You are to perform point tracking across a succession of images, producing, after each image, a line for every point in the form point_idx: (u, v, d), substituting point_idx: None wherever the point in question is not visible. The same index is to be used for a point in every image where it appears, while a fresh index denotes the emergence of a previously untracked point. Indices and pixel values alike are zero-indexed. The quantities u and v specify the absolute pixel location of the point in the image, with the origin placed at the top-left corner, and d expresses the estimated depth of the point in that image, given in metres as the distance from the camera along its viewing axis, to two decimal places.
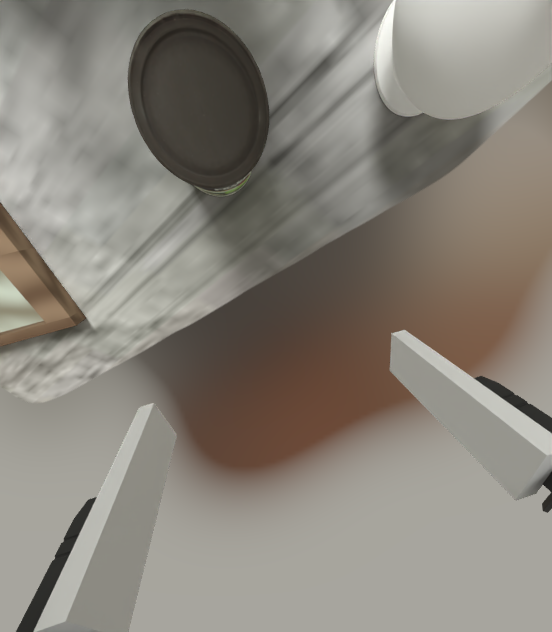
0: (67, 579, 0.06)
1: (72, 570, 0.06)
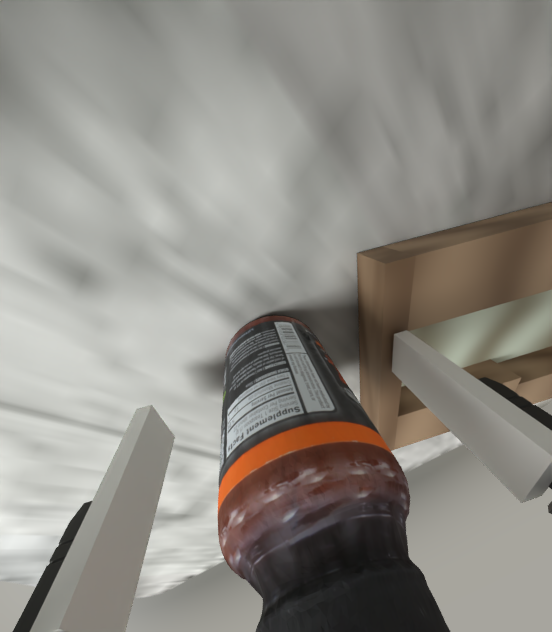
0: (61, 585, 0.06)
1: (66, 576, 0.06)
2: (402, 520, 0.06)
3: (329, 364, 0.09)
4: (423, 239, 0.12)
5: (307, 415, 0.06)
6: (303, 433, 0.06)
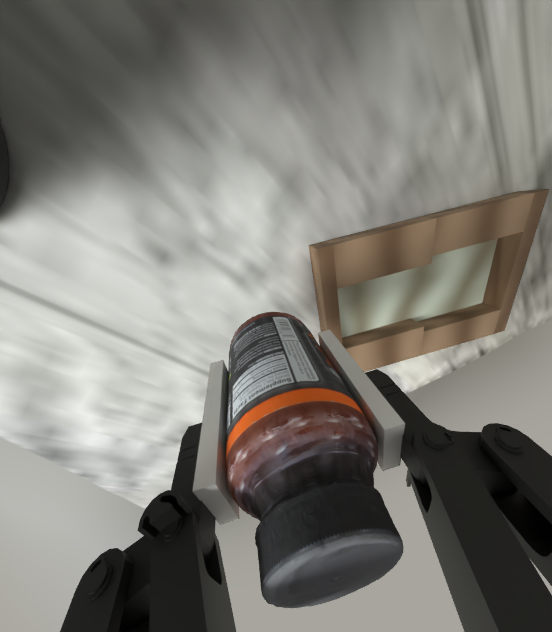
0: (204, 464, 0.08)
1: (205, 459, 0.08)
2: (369, 463, 0.07)
3: (318, 350, 0.11)
4: (344, 237, 0.21)
5: (297, 383, 0.08)
6: (293, 395, 0.08)
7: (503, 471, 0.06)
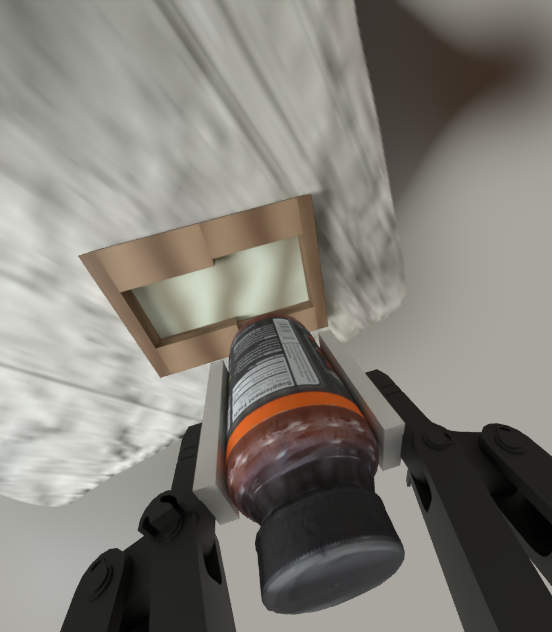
0: (204, 464, 0.08)
1: (205, 459, 0.08)
2: (370, 467, 0.07)
3: (318, 353, 0.11)
4: (123, 243, 0.22)
5: (297, 386, 0.08)
6: (293, 398, 0.08)
7: (503, 471, 0.06)
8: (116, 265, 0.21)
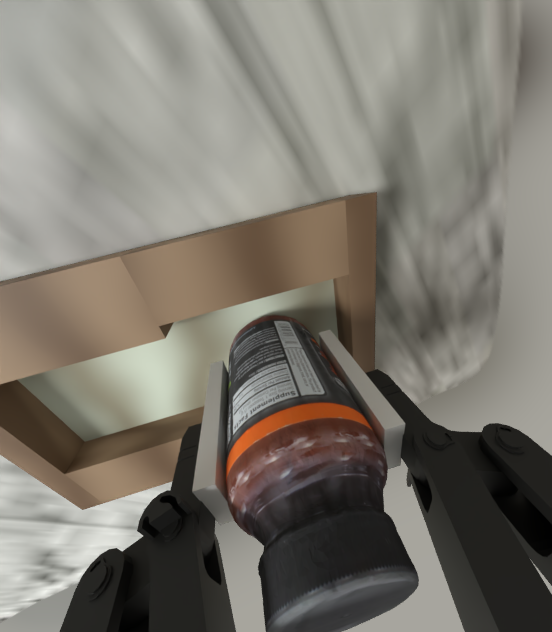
0: (204, 464, 0.08)
1: (205, 459, 0.08)
2: (379, 483, 0.07)
3: (322, 358, 0.11)
4: None
5: (301, 397, 0.08)
6: (297, 411, 0.07)
7: (503, 471, 0.06)
8: None
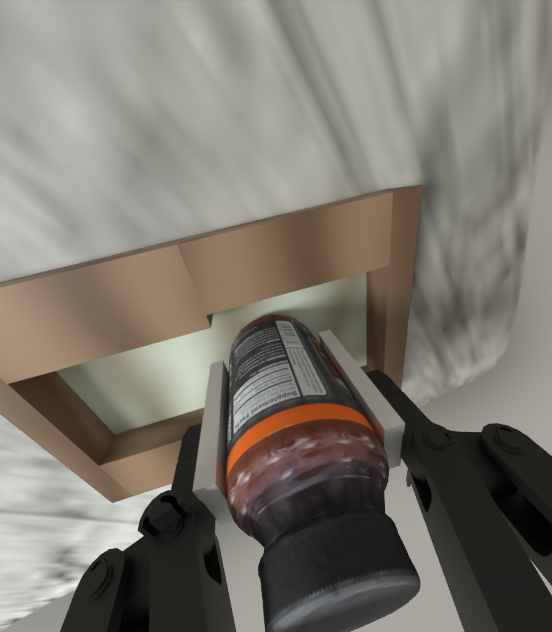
0: (204, 464, 0.08)
1: (205, 459, 0.08)
2: (381, 485, 0.07)
3: (324, 358, 0.11)
4: (16, 279, 0.10)
5: (303, 397, 0.07)
6: (299, 411, 0.07)
7: (503, 471, 0.06)
8: None
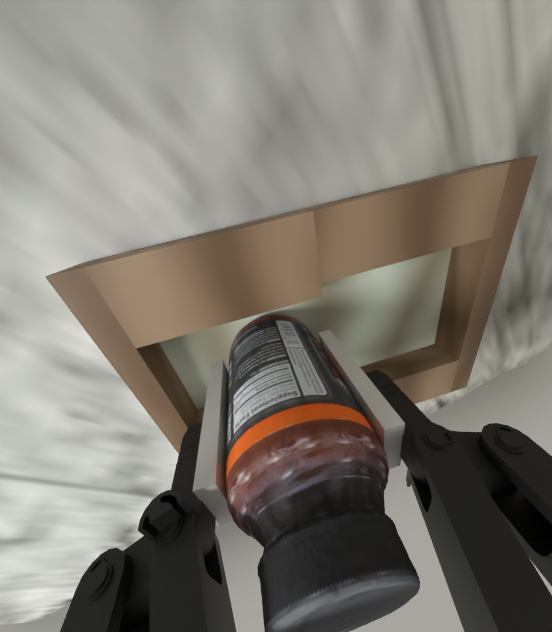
0: (204, 463, 0.08)
1: (205, 459, 0.08)
2: (380, 485, 0.07)
3: (324, 358, 0.11)
4: (146, 248, 0.11)
5: (304, 397, 0.07)
6: (300, 411, 0.07)
7: (503, 471, 0.06)
8: (131, 296, 0.10)
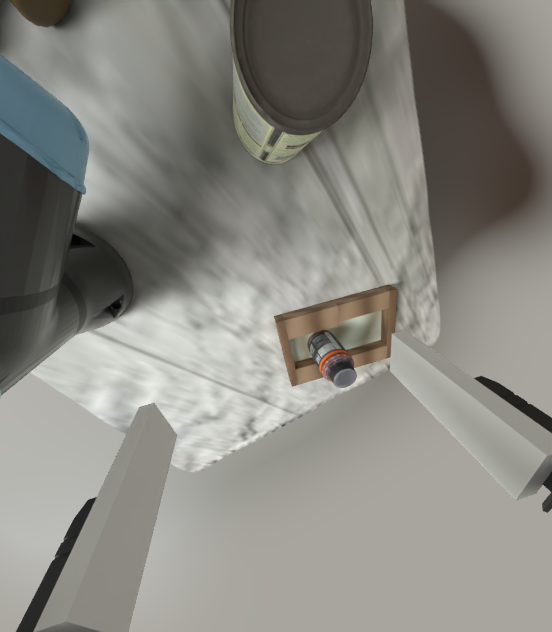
0: (67, 579, 0.06)
1: (72, 570, 0.06)
2: (352, 365, 0.36)
3: (339, 342, 0.40)
4: (292, 313, 0.40)
5: (336, 349, 0.37)
6: (336, 351, 0.36)
7: None
8: (292, 326, 0.39)
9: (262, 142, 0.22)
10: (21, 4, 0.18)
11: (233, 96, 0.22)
